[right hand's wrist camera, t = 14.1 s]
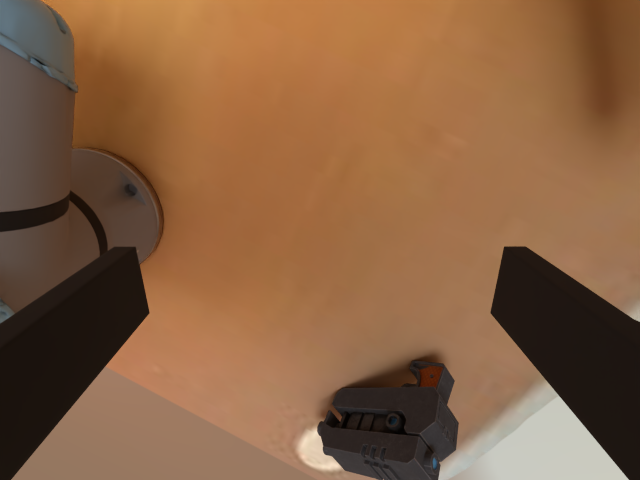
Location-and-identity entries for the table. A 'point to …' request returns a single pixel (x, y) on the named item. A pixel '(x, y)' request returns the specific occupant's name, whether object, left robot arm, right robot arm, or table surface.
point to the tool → (394, 427)
